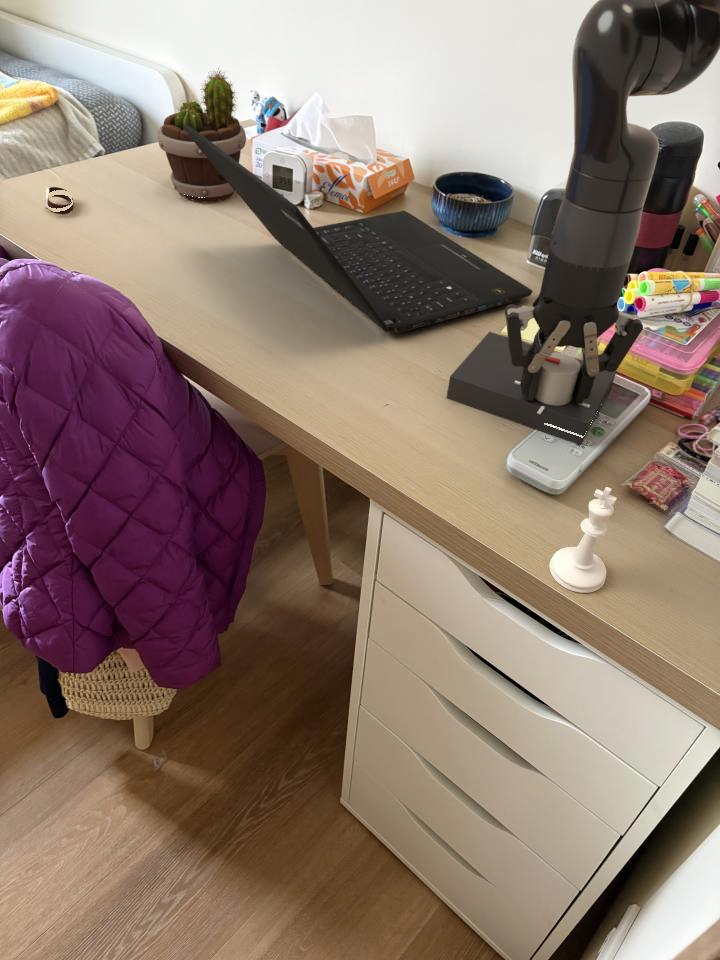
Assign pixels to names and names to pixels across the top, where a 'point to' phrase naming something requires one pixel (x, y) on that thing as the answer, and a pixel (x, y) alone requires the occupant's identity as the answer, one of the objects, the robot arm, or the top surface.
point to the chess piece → (585, 550)
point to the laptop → (376, 257)
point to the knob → (557, 379)
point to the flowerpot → (215, 125)
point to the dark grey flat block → (498, 391)
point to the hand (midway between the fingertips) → (552, 397)
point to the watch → (57, 204)
